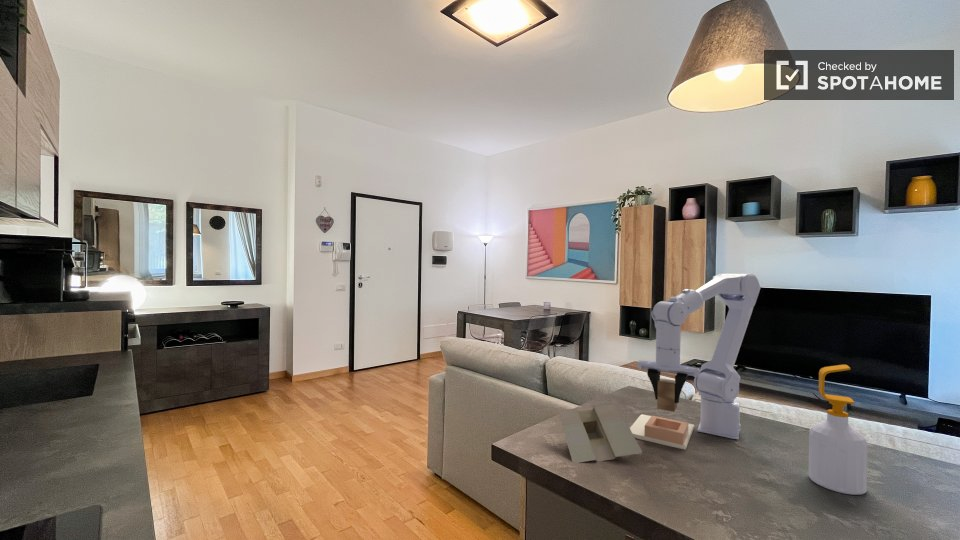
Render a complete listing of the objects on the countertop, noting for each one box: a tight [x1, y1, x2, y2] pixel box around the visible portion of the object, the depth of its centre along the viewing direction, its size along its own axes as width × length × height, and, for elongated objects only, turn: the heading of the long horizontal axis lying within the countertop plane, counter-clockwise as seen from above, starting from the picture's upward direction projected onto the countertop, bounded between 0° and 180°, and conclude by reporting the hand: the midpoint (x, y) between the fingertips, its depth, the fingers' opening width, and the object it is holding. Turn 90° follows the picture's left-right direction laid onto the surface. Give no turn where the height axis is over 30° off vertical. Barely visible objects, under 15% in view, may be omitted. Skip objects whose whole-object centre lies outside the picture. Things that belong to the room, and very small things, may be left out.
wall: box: [557, 403, 643, 464], centre depth 100 cm, size 16×9×15 cm
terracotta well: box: [645, 415, 689, 445], centre depth 106 cm, size 9×9×3 cm
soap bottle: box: [808, 364, 868, 496], centre depth 84 cm, size 9×9×25 cm
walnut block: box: [656, 378, 678, 413], centre depth 106 cm, size 4×4×7 cm
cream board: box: [629, 414, 695, 451], centre depth 110 cm, size 14×17×1 cm
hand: (667, 400), depth 106 cm, fingers closed on walnut block, 4 cm apart
